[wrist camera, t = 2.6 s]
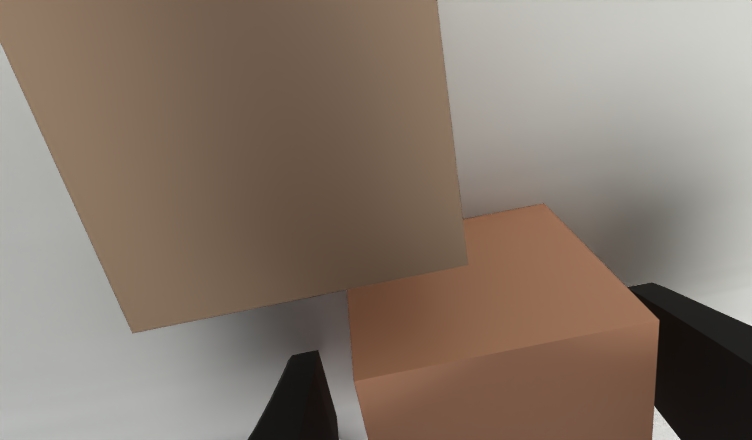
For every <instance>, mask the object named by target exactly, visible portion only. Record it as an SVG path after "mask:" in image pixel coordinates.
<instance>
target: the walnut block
mask: <svg viewBox="0 0 752 440" xmlns="http://www.w3.org/2000/svg"><path fill="white" fill-rule="evenodd" d="M0 43H1V45H2V47H3V49H4V51H5V54H6V56H7V58H8V60H9V62H10V65H11V67H12V69H13V71H14V73H15V76H16V78H17V80H18V82H19V84H20V87H21V89H22V91H23V93H24V95H25V98H26V100H27V102H28V104H29V106H30V109H31V111H32V113H33V115H34V117H35V120H36V122H37V124H38V126H39V128H40V131H41V133H42V135H43V137H44V140H45V142H46V144H47V146H48V148H49V151H50V153H51V155H52V157H53V159H54V162H55V164H56V166H57V168H58V170H59V173H60V175H61V177H62V179H63V181H64V184H65V186H66V188H67V190H68V192H69V195H70V197H71V199H72V201H73V203H74V206H75V208H76V210H77V212H78V214H79V217H80V219H81V221H82V223H83V225H84V228H85V230H86V232H87V234H88V236H89V239H90V241H91V243H92V245H93V247H94V250H95V252H96V254H97V256H98V258H99V261H100V263H101V265H102V267H103V269H104V272H105V274H106V276H107V278H108V280H109V283H110V285H111V287H112V289H113V291H114V294H115V296H116V298H117V300H118V302H119V305H120V307H121V309H122V311H123V314H124V316H125V318H126V320H127V322H128V325H129V327H130V329H131V331H132V333H137V332H142V331H147V330H151V329H156V328H161V327H166V326H171V325H176V324H181V323H186V322H191V321H196V320H201V319H206V318H211V317H215V316H220V315H225V314H230V313H235V312H240V311H245V310H250V309H255V308H260V307H265V306H270V305H275V304H279V303H284V302H289V301H294V300H299V299H304V298H309V297H314V296H319V295H324V294H329V293H334V292H339V291H343V290H348V289H353V288H358V287H363V286H368V285H373V284H378V283H383V282H388V281H393V280H398V279H403V278H407V277H412V276H417V275H422V274H427V273H432V272H437V271H442V270H447V269H452V268H457V267H462V266H467V265H468V259H467V250H466V242H465V234H464V225H463V217H462V208H461V200H460V191H459V183H458V175H457V166H456V158H455V149H454V141H453V132H452V124H451V115H450V107H449V99H448V90H447V82H446V73H445V65H444V56H443V48H442V40H441V31H440V23H439V14H438V6H437V0H0Z"/></svg>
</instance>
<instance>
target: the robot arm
mask: <svg viewBox="0 0 752 440" xmlns="http://www.w3.org/2000/svg"><path fill="white" fill-rule="evenodd" d="M627 288H628V289H629V290H630V291H631V292H632V293H633V294H634V295H635V296H636V297H637V298H638V299H639V300H640V301H641V302H642V303H643V304H644V305H645V306H646V307H647V308H648V309H649V310H650V311H651V312H652V313H653V314H654V315H655V316H656V317H657V318H658V319H659V335H658V351H657V367H656V383H655V399H654V406H655V407H656V409H657V410H658V411H659V412H660V414H661V415H662V416H663V418H664V419H665V420H666V421H667V423H668V424H669V425H670V427H671V428H672V429H673V430H674V432H675V433H676V434H677V435H678V437H679V438H680V439H681V440H752V326H750V325H748V324H746V323H743V322H741V321H739V320H736V319H734V318H732V317H730V316H727V315H725V314H723V313H721V312H718V311H716V310H714V309H712V308H710V307H707V306H705V305H703V304H701V303H699V302H696V301H694V300H692V299H690V298H688V297H685V296H683V295H681V294H679V293H676V292H674V291H672V290H670V289H667V288H665V287H663V286H660V285H657V284H655V283H647V284H642V285H637V286H632V287H627ZM248 440H339V437H338V426H337V416H336V412H335V409H334V405H333V402H332V398H331V394H330V391H329V387H328V384H327V380H326V377H325V373H324V369H323V366H322V362H321V359H320V355H319V352H318V350H316V351H311V352H306V353H301V354H296V355H292V356H291V358H290V359H289V360H288V362H287V365H286V367H285V369H284V371H283V374H282V376H281V378H280V380H279V382H278V384H277V386H276V388H275V390H274V392H273V395H272V397H271V399H270V401H269V402H268V404H267V406H266V408H265V410H264V412H263V414H262V416H261V417H260V419H259V421H258V423H257V425H256V427H255V428H254V430H253V432H252V434H251V435H250V437H249V439H248Z"/></svg>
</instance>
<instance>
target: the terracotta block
mask: <svg viewBox="0 0 752 440" xmlns="http://www.w3.org/2000/svg"><path fill="white" fill-rule="evenodd" d="M463 225H464V234H465V242H466V250H467V259H468V265H467V266H462V267H457V268H452V269H447V270H442V271H437V272H432V273H427V274H422V275H417V276H412V277H407V278H403V279H398V280H393V281H388V282H383V283H378V284H373V285H368V286H363V287H358V288H353V289H348V290H347V299H348V312H349V325H350V338H351V351H352V364H353V377H354V384H355V388H356V392H357V396H358V400H359V404H360V408H361V412H362V416H363V421H364V425H365V429H366V433H367V437H368V440H652V431H653V415H654V399H655V383H656V367H657V351H658V335H659V319H658V318H657V317H656V316H655V315H654V314H653V313H652V312H651V311H650V310H649V309H648V308H647V307H646V306H645V305H644V304H643V303H642V302H641V301H640V300H639V299H638V298H637V297H636V296H635V295H634V294H633V293H632V292H631V291H630V290H629V289H628V288H627V287H626V286H625V285H624V284H623V283H622V282H621V281H620V280H619V279H618V278H617V277H616V276H615V275H614V274H613V273H612V272H611V271H610V270H609V269H608V268H607V267H606V266H605V265H604V264H603V263H602V262H601V261H600V260H599V259H598V258H597V257H596V256H595V255H594V254H593V253H592V251H591V250H590V249H589V248H588V247H587V246H586V245H585V244H584V243H583V242H582V241H581V240H580V239H579V238H578V237H577V236H576V235H575V234H574V233H573V232H572V231H571V230H570V229H569V228H568V227H567V226H566V225H565V224H564V223H563V222H562V221H561V220H560V219H559V218H558V217H557V216H556V215H555V214H554V213H553V212H552V211H551V210H550V209H549V208H548V207H547V206H546V205H545V204H544V203H543V204H538V205H533V206H528V207H523V208H518V209H513V210H508V211H503V212H498V213H493V214H488V215H483V216H478V217H473V218H467V219H463Z"/></svg>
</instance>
